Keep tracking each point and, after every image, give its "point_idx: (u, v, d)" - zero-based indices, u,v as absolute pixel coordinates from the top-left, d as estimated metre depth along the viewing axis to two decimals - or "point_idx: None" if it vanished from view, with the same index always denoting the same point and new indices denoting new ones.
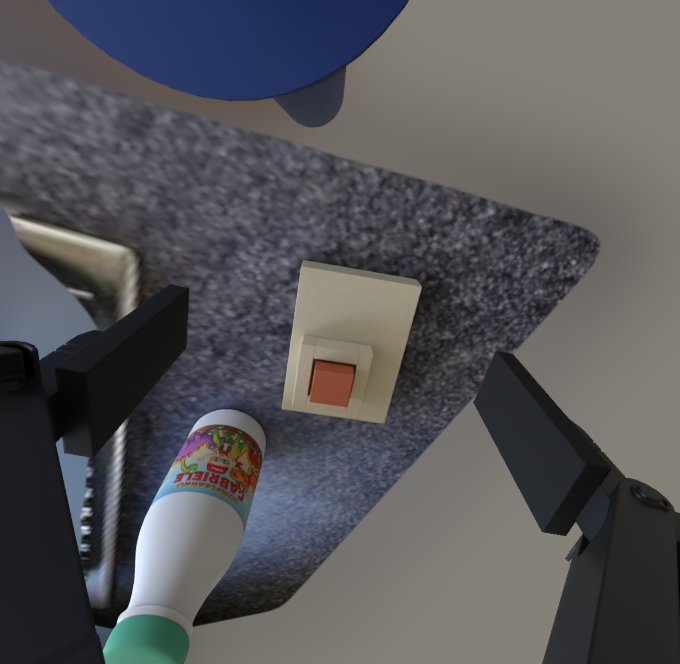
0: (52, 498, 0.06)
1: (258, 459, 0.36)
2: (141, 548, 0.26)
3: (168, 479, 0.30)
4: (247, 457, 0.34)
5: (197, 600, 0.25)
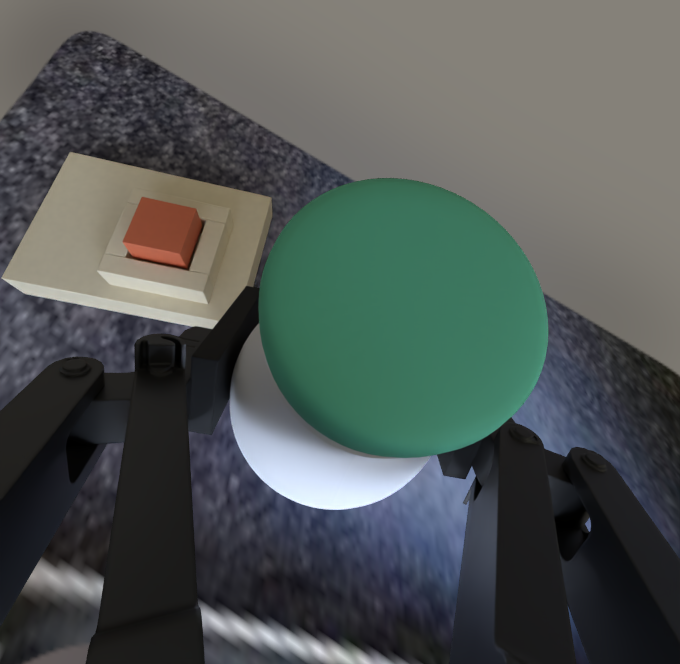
0: (179, 473, 0.07)
1: None
2: (277, 462, 0.10)
3: None
4: None
5: None
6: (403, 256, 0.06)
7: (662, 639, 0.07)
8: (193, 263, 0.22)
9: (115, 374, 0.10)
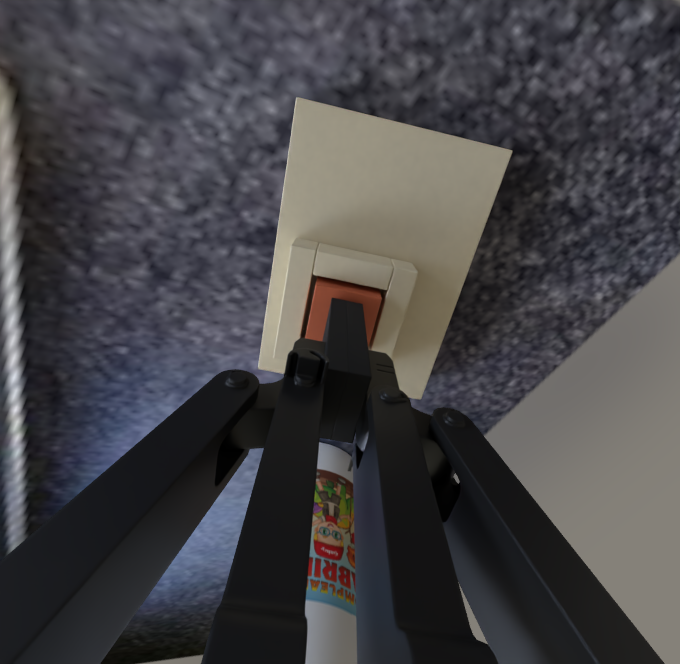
0: (306, 481, 0.08)
1: None
2: None
3: None
4: None
5: None
6: None
7: (532, 586, 0.07)
8: None
9: (260, 385, 0.11)
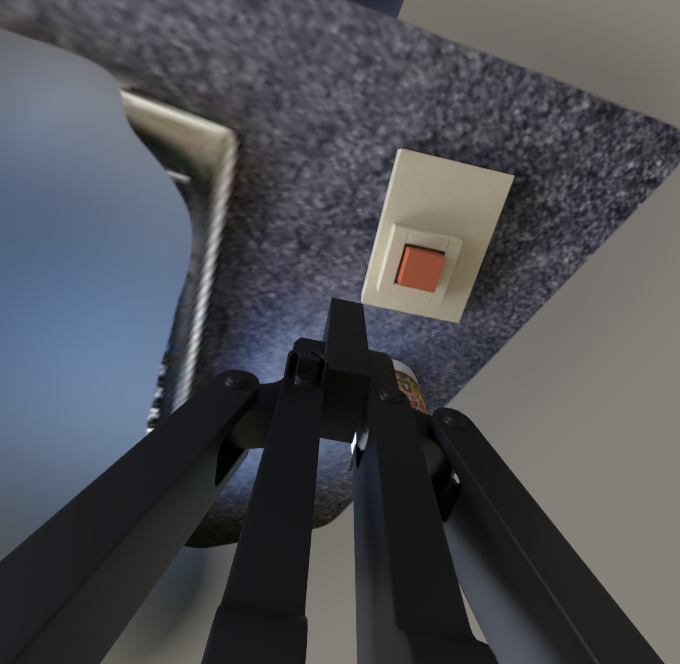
0: (306, 481, 0.08)
1: None
2: None
3: None
4: (421, 397, 0.38)
5: None
6: None
7: (533, 587, 0.07)
8: (398, 285, 0.34)
9: (260, 385, 0.11)
